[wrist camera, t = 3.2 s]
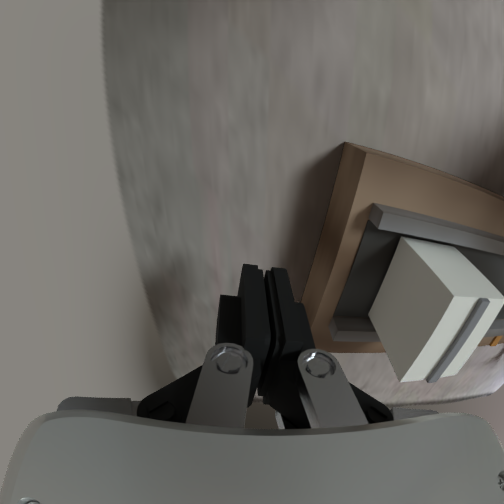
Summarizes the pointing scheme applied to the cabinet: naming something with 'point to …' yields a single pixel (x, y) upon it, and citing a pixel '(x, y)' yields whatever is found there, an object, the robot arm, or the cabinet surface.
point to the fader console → (393, 241)
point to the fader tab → (432, 310)
